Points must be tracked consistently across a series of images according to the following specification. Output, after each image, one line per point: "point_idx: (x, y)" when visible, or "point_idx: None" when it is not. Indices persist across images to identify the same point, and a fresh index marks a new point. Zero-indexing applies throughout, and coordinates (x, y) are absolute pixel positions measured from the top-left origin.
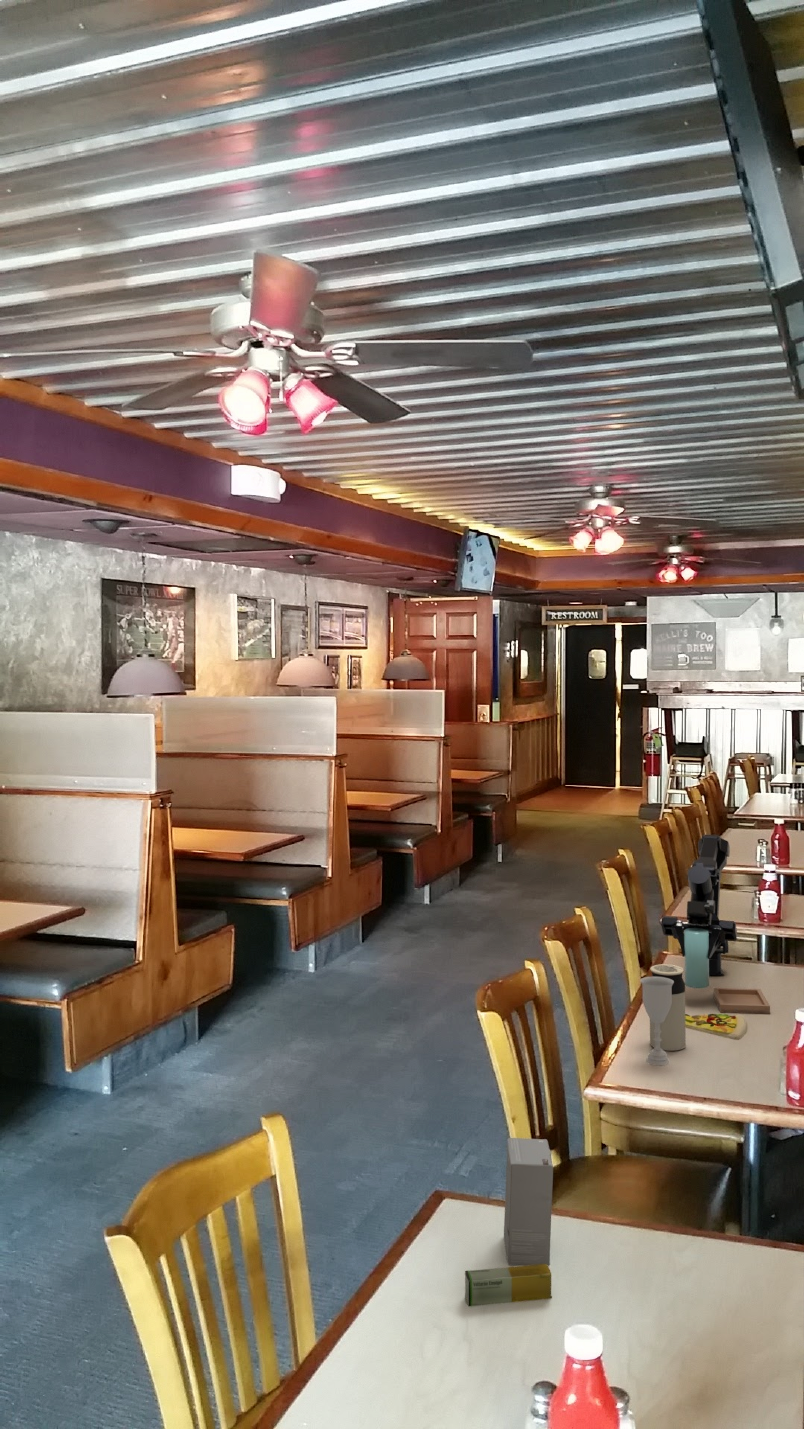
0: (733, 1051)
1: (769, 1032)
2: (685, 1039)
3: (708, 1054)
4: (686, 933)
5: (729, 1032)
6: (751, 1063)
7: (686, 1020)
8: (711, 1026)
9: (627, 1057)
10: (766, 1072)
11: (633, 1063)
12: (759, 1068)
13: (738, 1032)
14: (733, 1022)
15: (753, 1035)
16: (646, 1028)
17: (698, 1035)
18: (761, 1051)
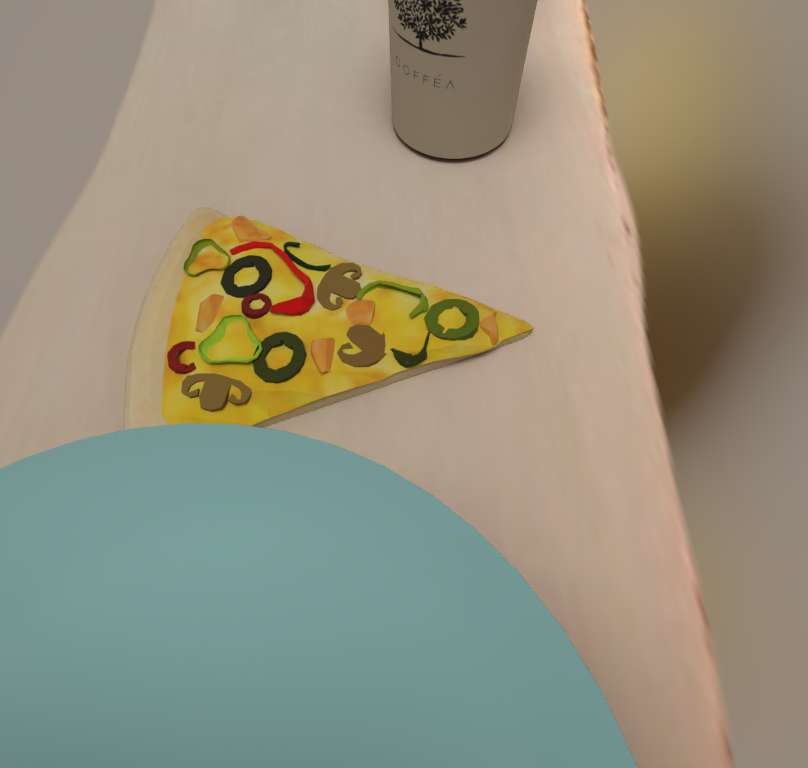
0: (236, 127)
1: (53, 316)
2: (391, 95)
3: (318, 93)
4: (517, 584)
5: (227, 217)
6: (195, 67)
7: (404, 287)
8: (295, 246)
9: (551, 33)
10: (165, 31)
11: None
12: (178, 47)
13: (190, 216)
14: (191, 297)
15: (132, 270)
16: (561, 242)
17: (352, 222)
18: (141, 145)
